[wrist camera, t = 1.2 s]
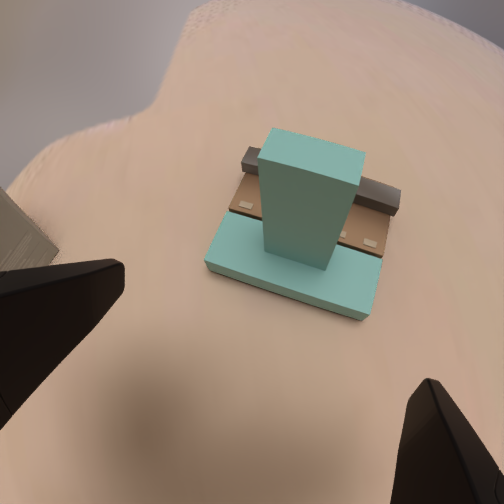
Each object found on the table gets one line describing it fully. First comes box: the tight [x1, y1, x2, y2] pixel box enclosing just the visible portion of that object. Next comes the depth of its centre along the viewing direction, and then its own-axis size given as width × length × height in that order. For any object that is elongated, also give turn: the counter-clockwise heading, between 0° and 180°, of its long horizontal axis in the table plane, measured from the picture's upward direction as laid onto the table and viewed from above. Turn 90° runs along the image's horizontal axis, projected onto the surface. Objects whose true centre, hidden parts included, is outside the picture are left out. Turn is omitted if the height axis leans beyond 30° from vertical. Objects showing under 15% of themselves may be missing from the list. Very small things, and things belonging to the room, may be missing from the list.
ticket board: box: [229, 146, 401, 259], centre depth 24 cm, size 6×13×4 cm, turn 69°
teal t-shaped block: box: [204, 128, 383, 321], centre depth 18 cm, size 4×12×12 cm, turn 69°
